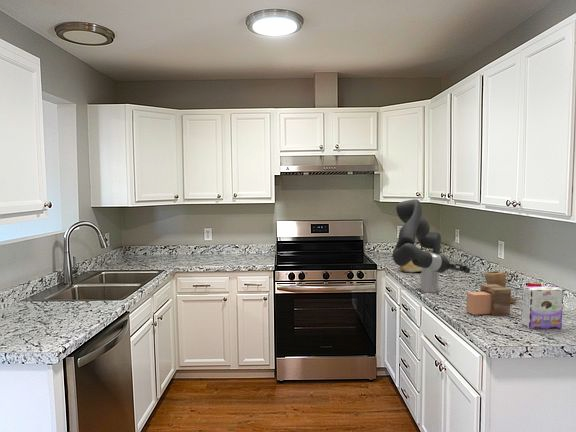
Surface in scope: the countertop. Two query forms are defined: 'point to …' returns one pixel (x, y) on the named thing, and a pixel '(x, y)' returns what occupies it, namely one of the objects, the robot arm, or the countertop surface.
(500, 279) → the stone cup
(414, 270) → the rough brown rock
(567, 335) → the countertop surface
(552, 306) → the candy box
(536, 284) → the beverage can
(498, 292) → the tunnel
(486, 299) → the block
